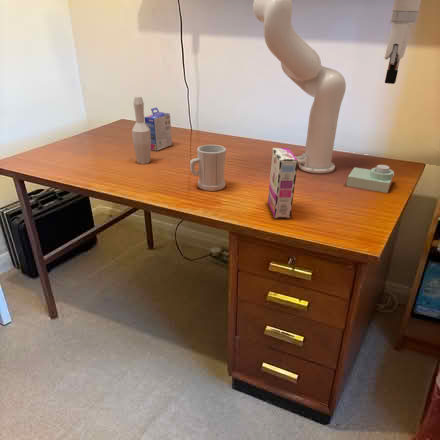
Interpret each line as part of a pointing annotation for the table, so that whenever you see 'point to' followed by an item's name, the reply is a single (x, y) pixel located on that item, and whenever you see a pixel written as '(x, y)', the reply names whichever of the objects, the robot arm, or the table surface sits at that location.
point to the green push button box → (370, 179)
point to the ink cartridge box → (159, 129)
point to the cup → (210, 167)
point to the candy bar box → (282, 182)
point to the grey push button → (382, 169)
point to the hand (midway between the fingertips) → (389, 83)
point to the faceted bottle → (141, 133)
